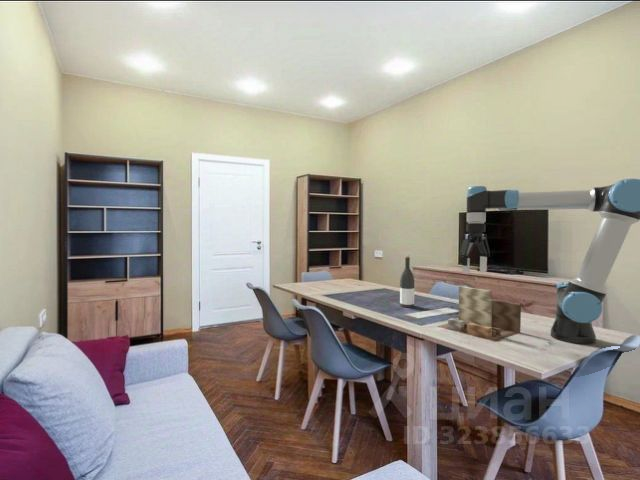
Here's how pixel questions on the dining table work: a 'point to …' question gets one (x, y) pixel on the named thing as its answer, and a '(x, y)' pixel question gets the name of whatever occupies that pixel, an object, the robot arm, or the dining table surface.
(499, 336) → the walnut rack
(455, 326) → the grey mdf offcut
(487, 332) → the cherry offcut
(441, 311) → the baseboard molding
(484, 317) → the birch sheet
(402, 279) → the wine bottle
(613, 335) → the dining table surface
